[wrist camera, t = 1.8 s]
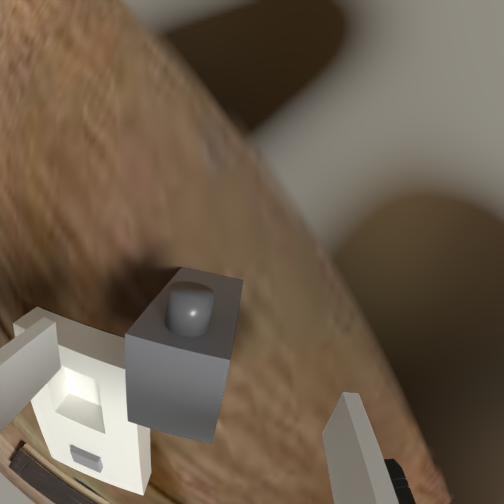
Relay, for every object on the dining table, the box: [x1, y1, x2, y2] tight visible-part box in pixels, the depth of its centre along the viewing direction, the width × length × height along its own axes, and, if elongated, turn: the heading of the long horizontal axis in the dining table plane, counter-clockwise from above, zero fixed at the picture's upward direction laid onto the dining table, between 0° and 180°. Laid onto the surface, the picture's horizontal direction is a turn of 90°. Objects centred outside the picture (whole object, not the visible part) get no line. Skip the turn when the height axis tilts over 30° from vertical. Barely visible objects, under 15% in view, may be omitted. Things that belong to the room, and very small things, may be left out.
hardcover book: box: [9, 443, 110, 504], centre depth 28 cm, size 16×23×2 cm
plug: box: [125, 267, 243, 443], centre depth 15 cm, size 4×7×9 cm, turn 168°
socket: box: [13, 307, 151, 495], centre depth 20 cm, size 11×18×4 cm, turn 168°
